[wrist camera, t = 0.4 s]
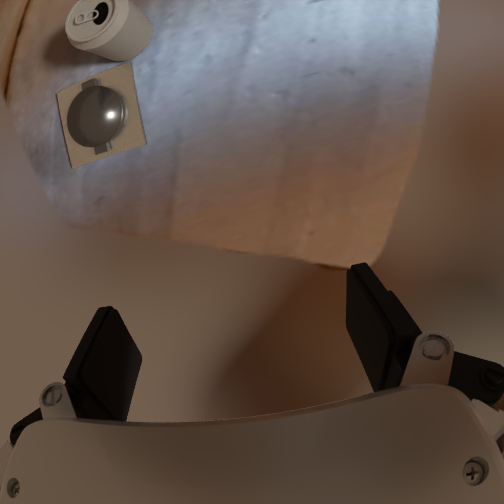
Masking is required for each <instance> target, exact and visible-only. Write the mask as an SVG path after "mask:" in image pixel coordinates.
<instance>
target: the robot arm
mask: <svg viewBox="0 0 504 504" xmlns="http://www.w3.org/2000/svg"><path fill="white" fill-rule="evenodd" d="M346 328H347V331H348V333H349V335H350V337H351V340H352V342H353V344H354V346H355V349H356V351H357V353H358V355H359V358H360V360H361V362H362V365H363V367H364V369H365V372H366V374H367V376H368V379H369V381H370V383H371V386H372V388H373V391H374V393H369V394H365V395H362V396H358V397H354V398H350V399H346V400H342V401H337V402H333V403H328V404H324V405H319V406H314V407H310V408H305V409H299V410H293V411H288V412H282V413H275V414H269V415H262V416H254V417H245V418H237V419H226V420H213V421H197V422H126V420H127V415H128V412H129V407H130V404H131V399H132V396H133V392H134V388H135V385H136V381H137V377H138V373H139V370H140V366H141V363H142V355H141V353H140V351H139V350H138V348H137V346H136V344H135V342H134V340H133V339H132V337H131V335H130V333H129V332H128V330H127V328H126V326H125V324H124V322H123V320H122V318H121V316H120V314H119V313H118V311H117V310H116V309H114V308H113V307H112V306H107V307H100V308H98V310H97V312H96V313H95V315H94V317H93V319H92V321H91V322H90V324H89V326H88V328H87V330H86V332H85V333H84V335H83V338H82V339H81V341H80V343H79V345H78V347H77V349H76V351H75V353H74V355H73V357H72V359H71V361H70V363H69V365H68V367H67V369H66V371H65V373H64V376H63V379H64V380H65V381H66V383H65V385H64V384H63V383H61V382H54V383H52V384H49V385H48V386H47V387H46V388H45V389H44V390H43V391H42V393H41V395H40V398H39V403H40V408H38V409H37V410H35V411H34V412H32V413H31V414H29V415H28V416H26V417H25V418H23V419H22V420H20V421H19V422H18V423H16V424H15V425H14V426H13V428H12V430H11V433H10V441H11V442H9V441H7V442H6V443H5V444H4V445H3V446H2V448H1V449H0V504H504V367H503V366H501V365H500V364H498V363H495V362H492V361H488V360H484V359H480V358H477V357H473V356H469V355H466V354H463V353H459V352H456V351H454V344H453V342H452V340H451V339H450V338H449V337H448V336H447V335H445V334H443V333H440V332H436V331H429V332H425V333H422V332H421V330H420V329H419V327H418V326H417V324H416V323H415V322H414V320H413V319H412V317H411V316H410V315H409V313H408V312H407V310H406V309H405V308H404V306H403V305H402V303H401V302H400V301H399V299H398V298H397V297H396V296H395V294H394V293H393V292H392V291H387V290H386V288H385V287H384V286H383V284H382V283H381V282H380V280H379V279H378V278H377V276H376V275H375V274H374V272H373V271H372V270H371V268H370V267H369V266H368V264H367V263H365V262H364V263H360V264H355V265H352V266H351V269H349V270H347V297H346Z"/></svg>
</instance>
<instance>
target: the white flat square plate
mask: <svg viewBox="0 0 504 504" xmlns="http://www.w3.org/2000/svg"><path fill="white" fill-rule="evenodd" d="M57 97H58V103H59V109H60V115H61V120H62V125H63V130H64V135H65V139H66V144H67V148H68V152H69V156H70V160H71V164H72V168H73V169H74V168H76V167H79V166H82V165H84V164H87V163H90V162H93V161H95V160H98V159H101V158H104V157H107V156H110V155H113V154H116V153H119V152H122V151H126V150H129V149H132V148H136V147H139V146H142V145H146V144H147V140H146V135H145V131H144V126H143V121H142V116H141V111H140V106H139V101H138V96H137V90H136V85H135V79H134V73H133V67H132V62H127V63H124V64H121V65H119V66H116V67H113V68H111V69H108V70H106V71H103V72H101V73H99V74H96V75H94V76H92V77H89V78H87V79H85V80H83V81H81V82H78V83H76V84H74V85H72V86H70V87H68V88H66V89H64V90H62V91H60V92H58V93H57Z"/></svg>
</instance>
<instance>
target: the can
mask: <svg viewBox="0 0 504 504" xmlns="http://www.w3.org/2000/svg"><path fill="white" fill-rule="evenodd" d="M65 32H66V34H67V38H68V40H69V41H70V43H71V44H72V45H73V46H74V47H76V48H77V49H81V50H84V51H87V52H90V53H93V54H96V55H99V56H102V57H104V58H107V59H110V60H114V61H127V60H129V59H132V58H134V57H136V56H137V55H139V54H140V53H142V51H143V50H144V49H145V48H146V47H147V46H148V44H149V42H150V40H151V38H152V33H153V28H152V23H151V22H150V20H149V19H148V18H147V17H146V16H145V15H144V14H143V13H142V12H141V11H140V10H139V9H138V8H137V7H136V6H135V5H134V4H133V3H132V2H131V1H130V0H79V1H78V2H77V3H76V4H75V5H74V6H73V7H72V9H71V10H70V12H69V14H68V16H67V18H66V22H65Z"/></svg>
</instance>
